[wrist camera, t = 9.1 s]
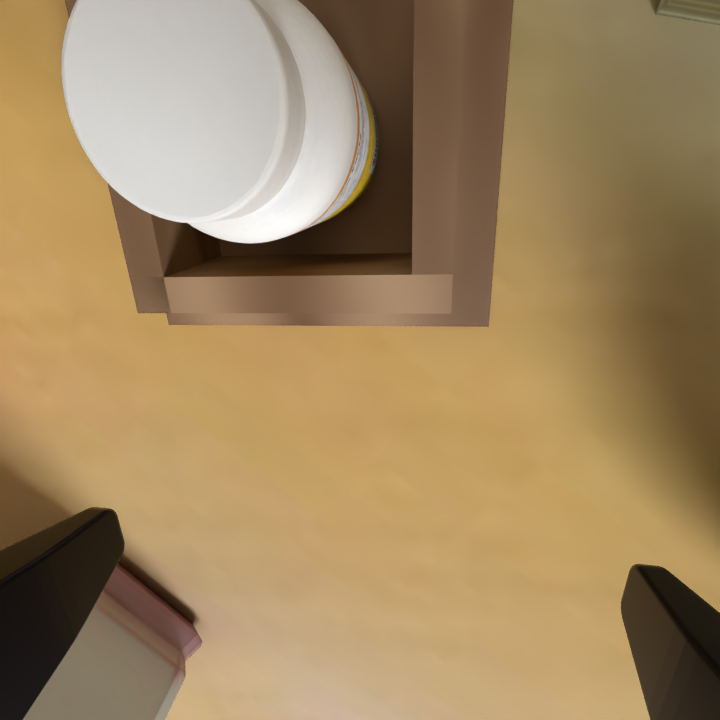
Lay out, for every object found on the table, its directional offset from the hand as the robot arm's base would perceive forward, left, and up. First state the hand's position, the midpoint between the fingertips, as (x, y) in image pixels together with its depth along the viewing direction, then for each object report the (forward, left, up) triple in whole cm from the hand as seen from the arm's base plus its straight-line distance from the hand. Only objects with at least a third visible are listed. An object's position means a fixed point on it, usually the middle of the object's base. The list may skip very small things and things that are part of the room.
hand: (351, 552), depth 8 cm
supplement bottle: (+3, -7, -12) cm, 14 cm away
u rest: (+3, -7, -13) cm, 15 cm away
